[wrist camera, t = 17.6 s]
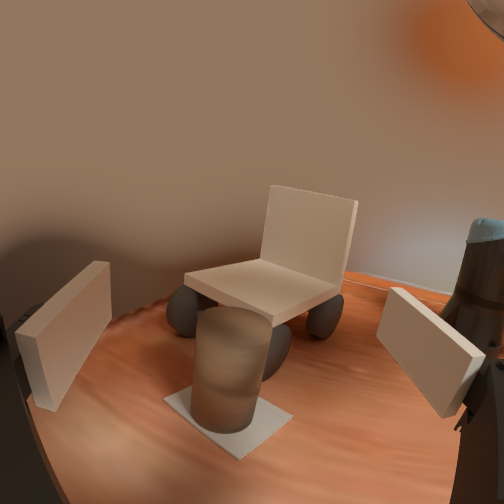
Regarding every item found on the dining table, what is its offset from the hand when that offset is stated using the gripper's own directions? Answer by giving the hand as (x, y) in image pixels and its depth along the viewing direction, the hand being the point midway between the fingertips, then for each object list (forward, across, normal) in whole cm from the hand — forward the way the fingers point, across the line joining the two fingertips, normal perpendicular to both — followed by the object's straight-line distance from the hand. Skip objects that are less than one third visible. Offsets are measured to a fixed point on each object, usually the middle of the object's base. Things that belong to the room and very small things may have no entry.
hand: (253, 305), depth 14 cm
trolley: (+26, +6, -17) cm, 32 cm away
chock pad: (+10, 0, -16) cm, 19 cm away
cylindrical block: (+10, 0, -16) cm, 19 cm away
